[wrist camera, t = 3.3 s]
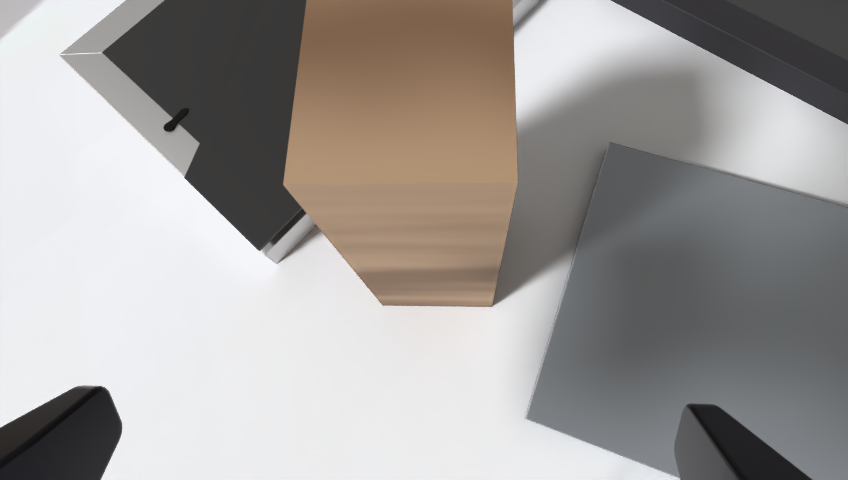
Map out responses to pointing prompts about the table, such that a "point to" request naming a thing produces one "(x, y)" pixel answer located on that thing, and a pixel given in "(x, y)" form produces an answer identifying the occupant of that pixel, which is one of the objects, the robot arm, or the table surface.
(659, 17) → the picture frame
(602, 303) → the coaster
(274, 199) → the picture frame
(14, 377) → the table surface
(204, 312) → the table surface
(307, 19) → the block
